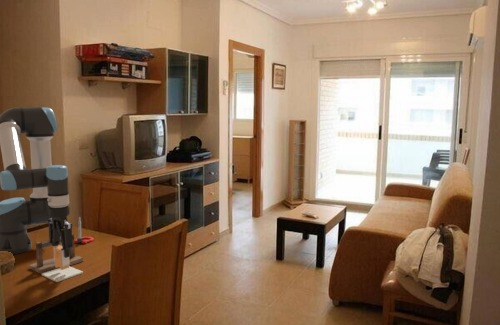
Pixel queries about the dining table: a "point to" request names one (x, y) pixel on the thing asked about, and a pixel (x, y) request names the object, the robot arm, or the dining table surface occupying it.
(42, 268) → the stand
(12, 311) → the dining table surface
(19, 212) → the robot arm
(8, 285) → the dining table surface
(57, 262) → the c-link
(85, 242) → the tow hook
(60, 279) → the rubber mat
